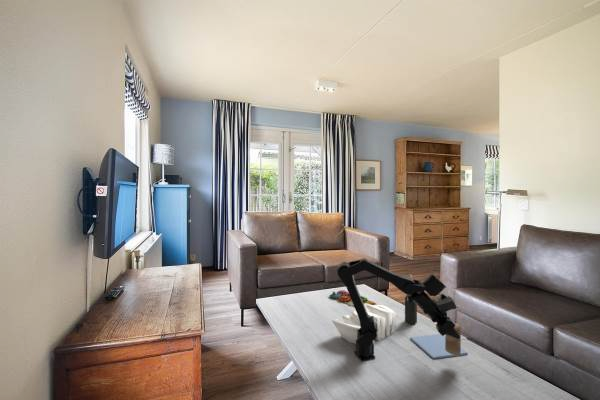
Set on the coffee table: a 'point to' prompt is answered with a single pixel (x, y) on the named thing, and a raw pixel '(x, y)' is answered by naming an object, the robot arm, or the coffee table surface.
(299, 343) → the coffee table surface
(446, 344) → the walnut pillar
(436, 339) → the blue mat
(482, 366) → the coffee table surface
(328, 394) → the coffee table surface
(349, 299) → the gear puzzle
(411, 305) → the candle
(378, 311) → the wavy white extrusion
